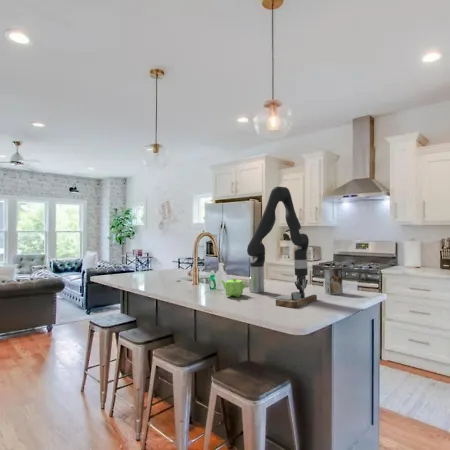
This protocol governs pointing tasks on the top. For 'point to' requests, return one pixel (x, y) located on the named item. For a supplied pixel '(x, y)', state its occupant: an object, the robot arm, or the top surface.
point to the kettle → (234, 287)
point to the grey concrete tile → (284, 297)
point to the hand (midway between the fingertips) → (301, 296)
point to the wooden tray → (296, 302)
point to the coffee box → (333, 281)
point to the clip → (297, 295)
